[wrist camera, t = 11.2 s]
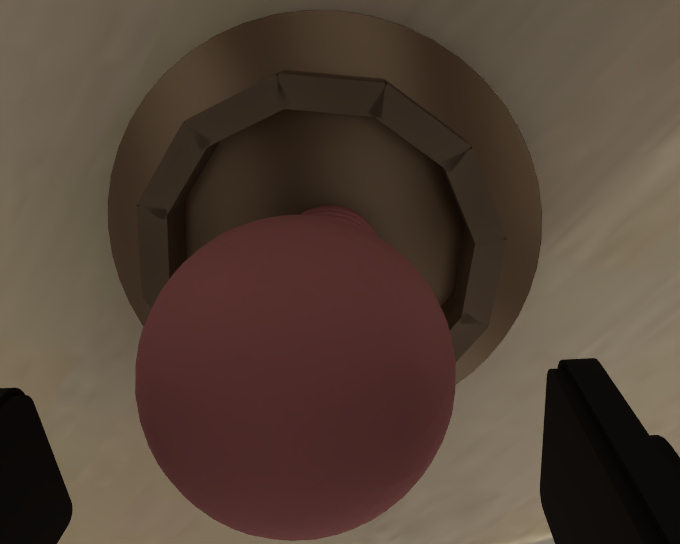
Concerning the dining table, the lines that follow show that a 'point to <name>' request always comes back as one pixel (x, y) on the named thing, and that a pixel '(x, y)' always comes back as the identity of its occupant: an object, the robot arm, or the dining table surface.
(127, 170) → the holder
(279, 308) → the light bulb
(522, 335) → the dining table surface
